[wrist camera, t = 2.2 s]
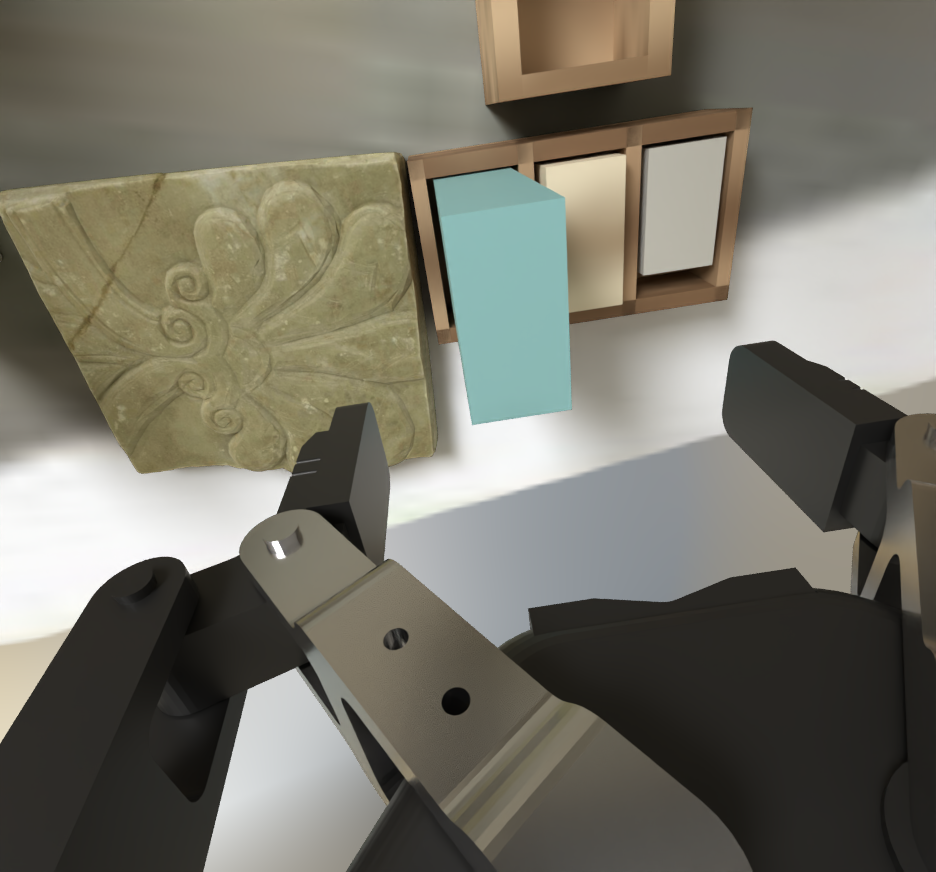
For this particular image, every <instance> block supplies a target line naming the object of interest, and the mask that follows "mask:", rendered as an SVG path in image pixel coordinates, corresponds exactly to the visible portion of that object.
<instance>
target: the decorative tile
mask: <svg viewBox="0 0 936 872" xmlns="http://www.w3.org/2000/svg"><path fill="white" fill-rule="evenodd" d="M0 215H1V217H2V220H3V223H4V225H5V228H6V229H7V231H8V233H9V235H10V237H11V239H12V241H13V243H14V245H15V247H16V248H17V250H18V252H19V254H20V256H21V258H22V260H23V262H24V264H25V266H26V268H27V270H28V272H29V274H30V277H31V279H32V281H33V283H34V285H35V287H36V290H37V292H38V294H39V296H40V297H41V299H42V301H43V303H44V304H45V306H46V308H47V310H48V311H49V313H50V315H51V317H52V318H53V320H54V322H55V324H56V326H57V327H58V329H59V331H60V333H61V335H62V337H63V339H64V341H65V342H66V344H67V346H68V348H69V350H70V351H71V353H72V354H73V356H74V358H75V360H76V362H77V364H78V366H79V368H80V370H81V372H82V374H83V376H84V378H85V380H86V382H87V384H88V386H89V388H90V390H91V392H92V394H93V396H94V397H95V399H96V401H97V403H98V405H99V407H100V409H101V411H102V413H103V415H104V417H105V419H106V421H107V423H108V425H109V427H110V429H111V430H112V432H113V434H114V436H115V438H116V440H117V441H118V443H119V445H120V446H121V447H122V449H123V450H124V451H125V453H126V454H127V456H128V457H129V459H130V461H131V462H132V464H133V466H134V467H135V469H136V471H137V472H139V473H141V474H144V473H152V472H161V471H167V470H174V469H177V468H184V467H191V466H193V467H200V466H212V465H221V466H224V465H229V466H232V467H236V468H245V469H248V470H252V471H266V470H274V469H280V468H285V469H286V470H288V471H290V472H292V471H293V469H294V466H295V464H297V463H296V461H297V458H298V455H299V452H300V450H301V447H302V446H303V445H304V444H305V443H306V442H307V441H308V440H309V439H310V438H311V437H312V436H313V435H314V434H315V433H316V432H322V431H328V430H329V428H330V425H331V422H332V418H333V415H334V412H335V409H336V407H341V406H347V405H354V404H360V403H367V402H370V403H371V405H372V407H373V410H374V413H375V417H376V420H377V424H378V428H379V432H380V436H381V440H382V443H383V447H384V451H385V455H386V459H387V463H388V467H389V466H393V465H396V464H398V463H400V462H401V461H403V460H404V459H410V458H417V457H431V456H432V455H433V453H434V452H435V450H436V445H437V439H438V433H437V423H436V413H435V403H434V393H433V384H432V374H431V365H430V355H429V346H428V338H427V330H426V322H425V315H424V307H423V299H422V291H421V283H420V274H419V265H418V257H417V249H416V242H415V235H414V228H413V220H412V212H411V205H410V197H409V188H408V180H407V172H406V165H405V160H404V158H403V156H402V154H400V153H396V152H390V153H372V154H361V155H349V156H339V157H328V158H318V159H307V160H297V161H287V162H274V163H263V164H254V165H242V166H231V167H221V168H211V169H202V170H192V171H181V172H173V173H164V174H163V173H154V174H145V175H136V176H126V177H117V178H107V179H97V180H89V181H80V182H70V183H62V184H52V185H43V186H34V187H26V188H17V189H10V190H6V191H1V192H0Z"/></svg>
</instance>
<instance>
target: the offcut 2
mask: <svg viewBox="0 0 936 872" xmlns="http://www.w3.org/2000/svg"><path fill="white" fill-rule="evenodd" d="M726 138H727V137H722V136H705V135H703V136H697V137H691V138H684V139H678V140H671V141H665V142H659V143H652V144H646V145H642V150H641V176H640V202H639V228H638V255H637V272H639V273H640V274H642V275H643V276H644V275H651V274H657V273H663V272H670V271H676V270H683V269H689V268H696V267H702V266H708V265H712V262H713V253H714V244H715V236H716V227H717V218H718V209H719V200H720V191H721V183H722V174H723V165H724V156H725V147H726Z"/></svg>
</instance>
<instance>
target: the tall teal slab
mask: <svg viewBox="0 0 936 872" xmlns="http://www.w3.org/2000/svg"><path fill="white" fill-rule="evenodd" d="M433 183H434V189H435V196H436V202H437V209H438V216H439V222H440V229H441V235H442V242H443V248H444V255H445V262H446V268H447V275H448V281H449V288H450V294H451V301H452V307H453V313H454V319H455V325H456V331H457V337H458V343H459V349H460V355H461V361H462V367H463V373H464V379H465V385H466V391H467V397H468V403H469V409H470V415H471V421H472V425H475V424H481V423H488V422H494V421H501V420H507V419H514V418H520V417H527V416H533V415H540V414H546V413H553V412H559V411H565V410H572V400H571V368H570V337H569V305H568V273H567V241H566V209H565V197H563V196H561V195H560V194H558V193H556V192H554V191H552V190H550V189H549V188H547V187H545V186H543V185H541V184H539V183H538V182H536V181H534V180H532V179H530V178H528V177H526V176H525V175H523V174H521V173H519V172H517V171H515V170H514V169H512V168H510V167H508V166H506V167H499V168H493V169H486V170H480V171H474V172H467V173H461V174H455V175H448V176H442V177H435V178H433Z"/></svg>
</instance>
